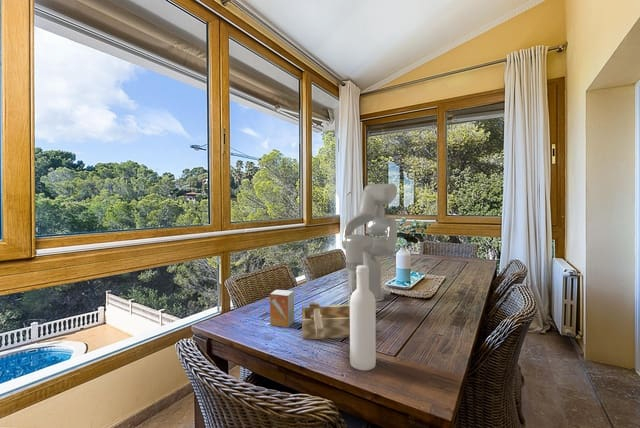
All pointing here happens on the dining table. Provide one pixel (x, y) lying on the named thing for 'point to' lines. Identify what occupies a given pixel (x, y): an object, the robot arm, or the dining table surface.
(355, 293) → the bottle
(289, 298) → the small box
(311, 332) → the toolbox
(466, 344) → the dining table surface
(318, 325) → the key
